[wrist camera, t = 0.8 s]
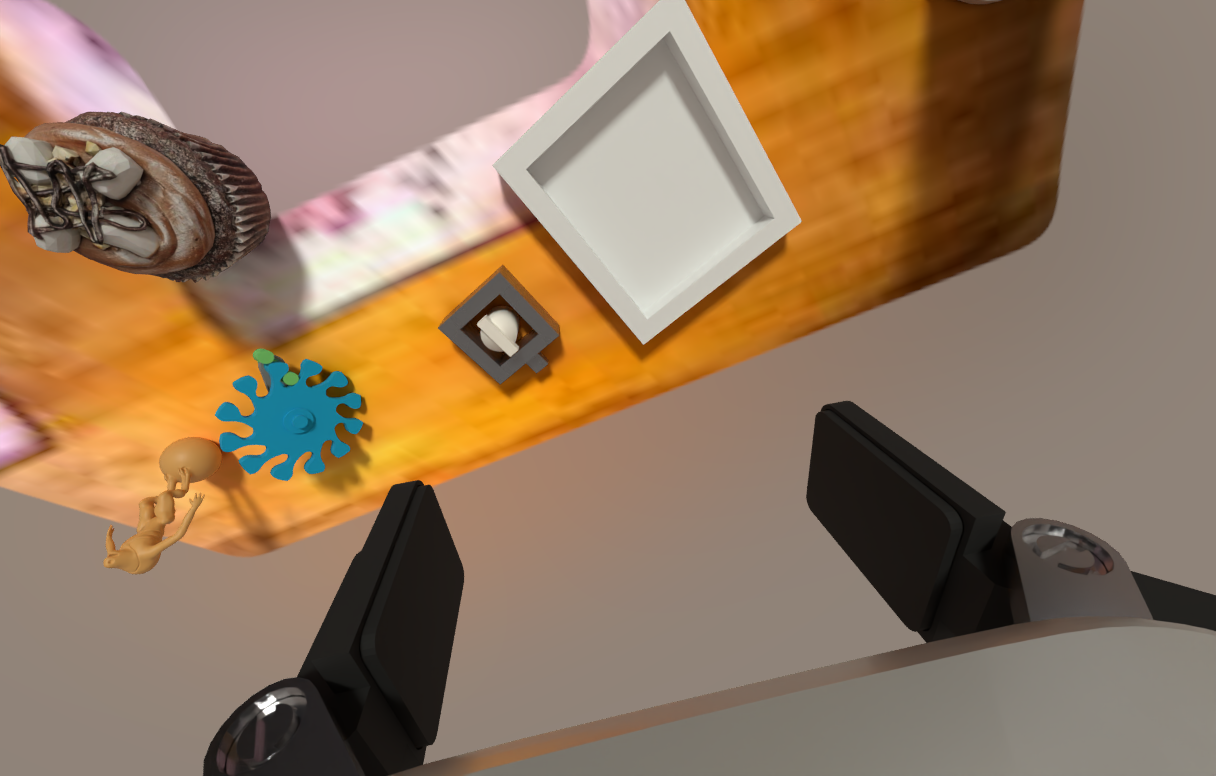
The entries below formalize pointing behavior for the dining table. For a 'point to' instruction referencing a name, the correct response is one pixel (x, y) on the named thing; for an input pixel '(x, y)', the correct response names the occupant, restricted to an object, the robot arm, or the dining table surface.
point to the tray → (652, 174)
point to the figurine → (165, 505)
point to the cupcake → (136, 195)
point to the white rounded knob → (500, 329)
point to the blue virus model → (289, 416)
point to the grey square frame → (524, 305)
